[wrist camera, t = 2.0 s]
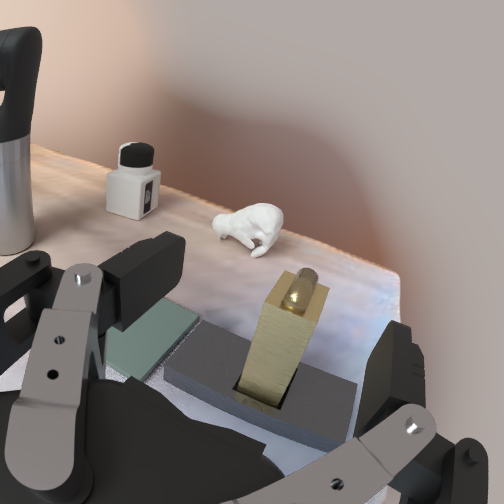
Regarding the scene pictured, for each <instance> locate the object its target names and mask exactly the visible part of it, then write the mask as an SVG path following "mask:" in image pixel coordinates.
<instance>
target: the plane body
mask: <svg viewBox="0 0 504 504" xmlns="http://www.w3.org/2000/svg"><path fill="white" fill-rule="evenodd" d="M251 343H252V342H251V341H249V340H246V339H244V338H242V337H240V336H237V335H235V334H233V333H231V332H229V331H226V330H224V329H222V328H220V327H218V326H216V325H213V324H211V323H209V322H207V321H205V320H203V321H202V322H201V323H200V324H199V325H198V326H197V328H196V329H195V330H194V331H193V332H192V333H191V334H190V336H189V337H188V338H187V339H186V340H185V341H184V342H183V343H182V345H181V346H180V347H179V348H178V349H177V350H176V351H175V352H174V354H173V355H172V356H171V357H170V358H169V359H168V360H167V362H166V363H165V364H164V380H165V381H167V382H169V383H171V384H172V385H174V386H176V387H178V388H180V389H182V390H183V391H185V392H187V393H189V394H191V395H193V396H195V397H197V398H199V399H201V400H203V401H205V402H207V403H209V404H211V405H213V406H215V407H217V408H219V409H221V410H223V411H225V412H227V413H229V414H232V415H234V416H236V417H238V418H240V419H242V420H245V421H247V422H249V423H252V424H254V425H256V426H259V427H261V428H263V429H266V430H268V431H271V432H273V433H275V434H278V435H280V436H283V437H286V438H288V439H291V440H293V441H296V442H299V443H302V444H304V445H307V446H310V447H313V448H316V449H318V450H321V451H324V452H327V453H329V452H331V451H333V450H334V449H336V448H338V447H339V446H341V445H342V444H344V443H345V439H346V435H347V431H348V426H349V422H350V418H351V413H352V409H353V404H354V399H355V394H356V389H357V384H356V383H353V382H351V381H348V380H345V379H343V378H340V377H337V376H334V375H332V374H329V373H327V372H324V371H321V370H319V369H316V368H314V367H311V366H309V365H306V364H303V363H301V362H299V364H298V366H297V368H296V370H295V372H294V374H293V376H292V378H291V380H290V383H291V384H290V386H289V389H288V391H287V393H286V396H285V398H284V400H283V402H282V405H281V407H280V409H279V410H278V409H276V408H273V407H271V406H268V405H266V404H264V403H261V402H259V401H257V400H254V399H252V398H250V397H248V396H245V395H243V394H241V393H239V392H237V391H235V390H236V388H237V387H238V385H239V382H240V379H241V375H242V372H243V369H244V366H245V363H246V360H247V356H248V353H249V350H250V347H251Z"/></svg>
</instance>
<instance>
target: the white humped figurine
mask: <svg viewBox="0 0 504 504" xmlns="http://www.w3.org/2000/svg"><path fill="white" fill-rule="evenodd" d="M282 225H283V213H282V211H281V210H280V209H279V208H277V207H276V206H274V205H271V204H266V203H258V204H255V205H252V206H248V207H246V208H244V209H242V210H239V211H237V212H236V213H232V214H219V215H217V216H216V217H215V218H214V220H213V223H212V228H213V229H214V231H215V233H216V234H217V236H218V238H219V240H220V238H223V239H225V238H226V237H227V235H231V236H233V237H234V238H236V239H238V240H239V241H240V242H241V243H243V244H244V245H245V246H246V247H248V248H250V249H253V248H254V247H255V244H254V243H253V242H252V240H251V239H254V238H258V239H260V240H261V241H260V242H259V244H260V247H257V248H255V249H254V250H253V251H252V253H251V257H253V258H256V257H259V256H261V255H263V254H264V253H266V252H267V251H268V249H269V248H270V247H271V246H272V245H273V244H274V242H275V241H276V240H277V238H278V236H279V232H280V229H281V227H282ZM221 240H222V239H221ZM221 240H220V241H221Z"/></svg>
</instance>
